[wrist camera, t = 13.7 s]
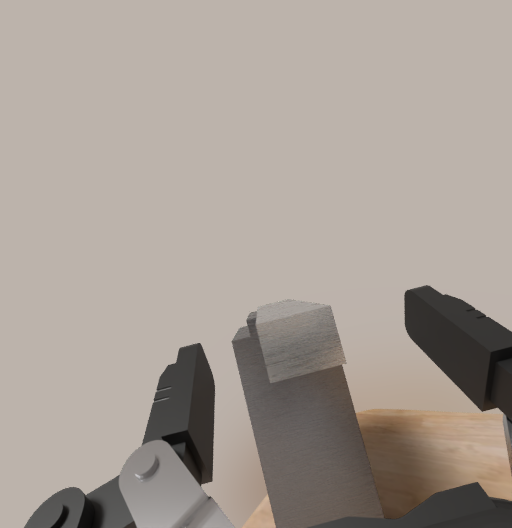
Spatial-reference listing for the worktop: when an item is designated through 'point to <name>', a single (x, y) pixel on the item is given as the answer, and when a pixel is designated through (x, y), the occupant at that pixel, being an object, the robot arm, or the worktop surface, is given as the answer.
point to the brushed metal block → (298, 338)
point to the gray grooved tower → (306, 440)
